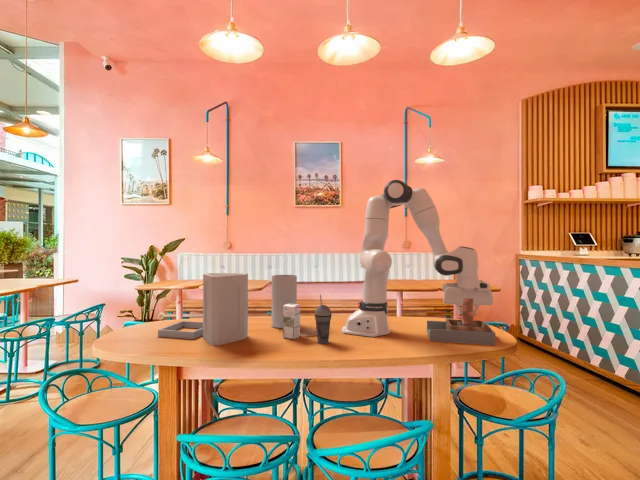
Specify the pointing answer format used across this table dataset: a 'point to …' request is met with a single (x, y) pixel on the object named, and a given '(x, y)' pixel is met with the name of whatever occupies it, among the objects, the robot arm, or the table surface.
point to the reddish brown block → (467, 312)
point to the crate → (477, 326)
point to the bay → (458, 334)
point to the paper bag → (225, 307)
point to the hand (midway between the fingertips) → (467, 314)
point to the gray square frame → (171, 332)
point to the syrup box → (291, 321)
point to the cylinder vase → (282, 296)
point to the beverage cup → (323, 323)
